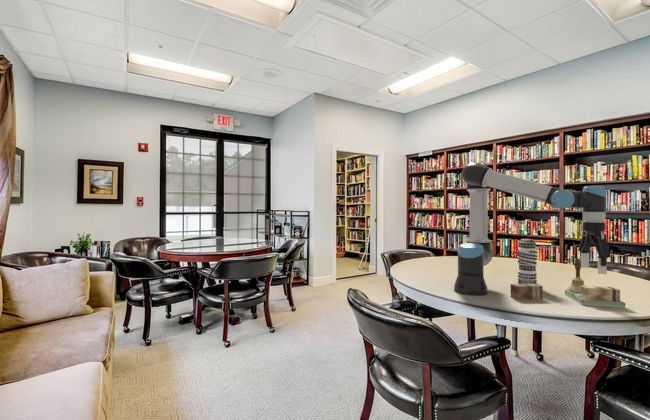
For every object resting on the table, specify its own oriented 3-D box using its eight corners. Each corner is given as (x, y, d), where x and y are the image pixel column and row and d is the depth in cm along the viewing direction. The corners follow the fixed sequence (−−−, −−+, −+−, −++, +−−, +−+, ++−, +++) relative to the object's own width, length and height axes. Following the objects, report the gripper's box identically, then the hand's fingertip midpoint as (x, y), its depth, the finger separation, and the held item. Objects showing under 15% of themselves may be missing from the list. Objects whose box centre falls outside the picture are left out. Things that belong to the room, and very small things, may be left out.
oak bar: (585, 301, 136) (585, 287, 136) (580, 298, 140) (580, 285, 140) (620, 304, 132) (620, 289, 132) (613, 301, 137) (613, 287, 137)
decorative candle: (536, 285, 169) (536, 238, 169) (538, 289, 161) (538, 240, 161) (516, 283, 174) (516, 238, 173) (517, 287, 165) (517, 239, 165)
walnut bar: (516, 299, 143) (516, 286, 143) (510, 296, 148) (510, 283, 148) (542, 299, 144) (542, 285, 144) (535, 296, 148) (535, 283, 148)
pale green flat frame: (581, 304, 135) (581, 299, 135) (564, 294, 152) (564, 289, 152) (625, 308, 131) (625, 302, 131) (602, 296, 147) (602, 292, 147)
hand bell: (592, 292, 155) (592, 260, 155) (573, 291, 156) (573, 259, 156) (582, 288, 163) (582, 257, 163) (564, 287, 165) (564, 257, 164)
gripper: (622, 223, 124) (621, 277, 124) (588, 220, 148) (588, 265, 148) (599, 223, 126) (598, 276, 126) (570, 220, 150) (569, 264, 150)
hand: (593, 270), depth 137 cm, fingers open, 13 cm apart
